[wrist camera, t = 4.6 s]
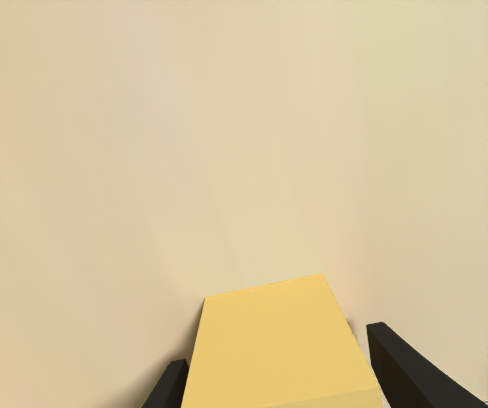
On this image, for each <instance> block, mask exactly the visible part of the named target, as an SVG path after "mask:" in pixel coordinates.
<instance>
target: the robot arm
mask: <svg viewBox="0 0 488 408" xmlns="http://www.w3.org/2000/svg"><path fill="white" fill-rule="evenodd" d="M366 328H367V336H368V343H369V351H370V359H371V366H372V368H373V370H374V373H375V375H376V377H377V380H378V382H379V384H380V386H381V389H382V391H383V393H384V395H385V397H386V399H387V401H388V403H389V405H390V406H391V408H488V405H487V404H486V403H484V402H483V401H481V400H480V399H478V398H477V397H476V396H474V395H473V394H471V393H470V392H469V391H467V390H466V389H465V388H463V387H462V386H460V385H459V384H458V383H456V382H455V381H454V380H452V379H451V378H450V377H448V376H447V375H446V374H445V373H443V372H442V371H441V370H439V369H438V368H437V367H436V366H434V365H433V364H432V363H431V362H429V361H428V360H427V359H426V358H424V357H423V356H422V355H421V354H420V353H418V352H417V351H416V350H415V349H414V348H412V347H411V346H410V345H409V344H408V343H407V342H405V341H404V340H403V339H402V338H401V337H400V336H399V335H397V334H396V333H395V332H394V331H393V330H392V329H391V328H390V327H388V326H387V325H386V324H385V323H383V322H379V323H373V324H368V325H366ZM188 374H189V367H188V364H187V362H186V359H182V360H177V361H172V362H170V364H169V365H168V367H167V368H166V370H165V372H164V373H163V375H162V376H161V378H160V380H159V381H158V383H157V384H156V386H155V388H154V389H153V391H152V392H151V394H150V396H149V397H148V399H147V400H146V402H145V403H144V405H143V406H142V408H181V405H182V401H183V396H184V392H185V387H186V383H187V378H188Z"/></svg>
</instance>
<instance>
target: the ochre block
mask: <svg viewBox="0 0 488 408" xmlns="http://www.w3.org/2000/svg"><path fill="white" fill-rule="evenodd" d="M181 408H382V402H381V394H380V387H379V385H378V383H377V381H376V379H375V377H374V375H373V373H372V371H371V369H370V367H369V365H368V363H367V361H366V359H365V357H364V355H363V353H362V351H361V349H360V347H359V345H358V343H357V341H356V339H355V337H354V335H353V333H352V331H351V329H350V327H349V325H348V323H347V321H346V319H345V317H344V315H343V313H342V311H341V309H340V307H339V305H338V303H337V301H336V299H335V297H334V295H333V293H332V291H331V289H330V287H329V285H328V283H327V281H326V279H325V277H324V275H323V273H320V274H315V275H310V276H305V277H300V278H295V279H290V280H286V281H281V282H276V283H271V284H266V285H261V286H256V287H251V288H247V289H242V290H237V291H232V292H227V293H222V294H217V295H213V296H208V297H205V301H204V306H203V310H202V315H201V319H200V324H199V328H198V333H197V338H196V342H195V347H194V351H193V356H192V360H191V365H190V369H189V374H188V378H187V383H186V387H185V392H184V396H183V401H182V405H181Z"/></svg>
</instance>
